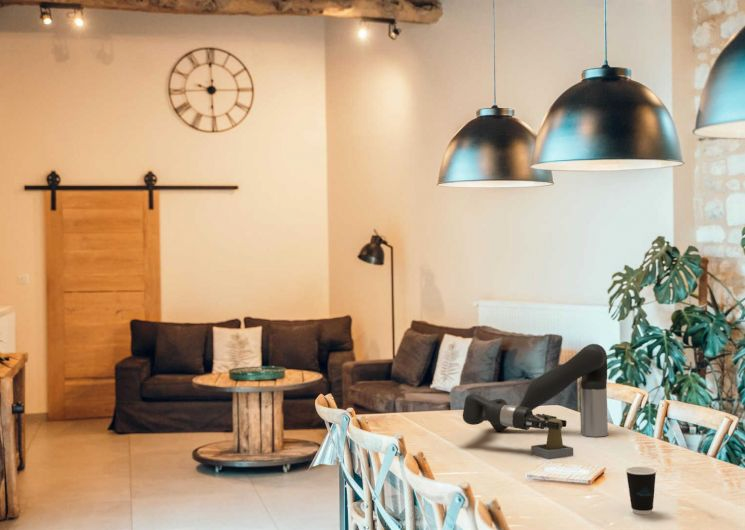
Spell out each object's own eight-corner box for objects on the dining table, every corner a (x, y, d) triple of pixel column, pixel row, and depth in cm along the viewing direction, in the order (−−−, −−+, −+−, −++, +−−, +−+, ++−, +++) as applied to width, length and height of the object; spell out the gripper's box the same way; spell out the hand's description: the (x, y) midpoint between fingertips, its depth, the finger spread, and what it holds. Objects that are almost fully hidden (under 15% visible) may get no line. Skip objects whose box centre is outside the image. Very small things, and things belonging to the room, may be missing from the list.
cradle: (531, 453, 323) (531, 445, 323) (556, 450, 327) (556, 442, 327) (547, 459, 314) (547, 451, 314) (573, 455, 318) (573, 447, 318)
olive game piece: (541, 452, 320) (542, 419, 319) (550, 447, 324) (551, 416, 323) (558, 455, 316) (558, 422, 315) (566, 451, 321) (567, 418, 320)
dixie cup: (644, 517, 243) (643, 474, 243) (620, 511, 250) (618, 469, 249) (664, 512, 248) (663, 469, 248) (640, 506, 254) (638, 465, 254)
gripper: (524, 424, 333) (570, 433, 324) (506, 430, 321) (553, 439, 312) (525, 403, 333) (571, 411, 323) (507, 408, 321) (554, 417, 312)
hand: (562, 425), depth 318 cm, fingers closed on olive game piece, 5 cm apart
